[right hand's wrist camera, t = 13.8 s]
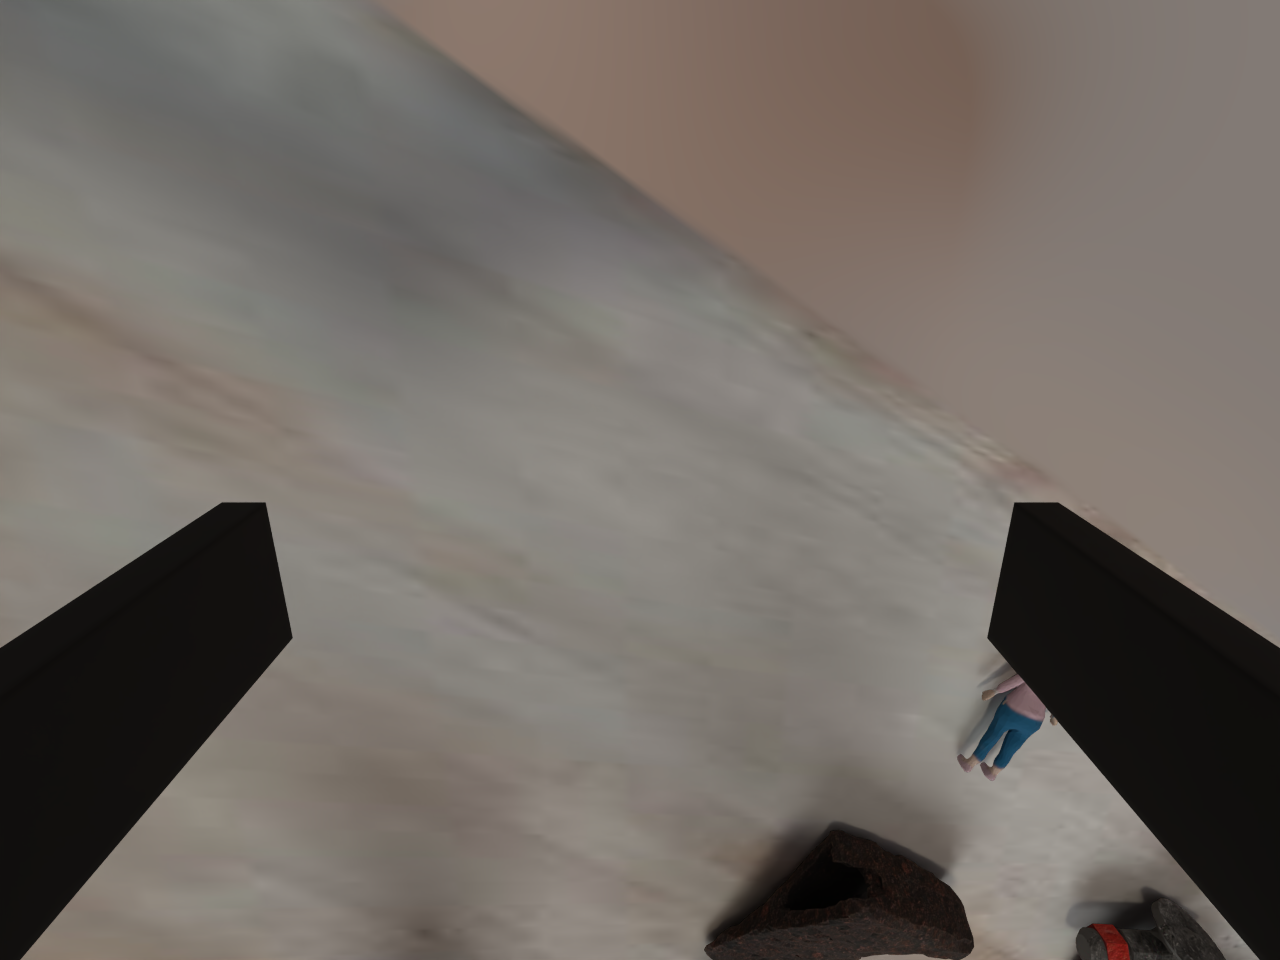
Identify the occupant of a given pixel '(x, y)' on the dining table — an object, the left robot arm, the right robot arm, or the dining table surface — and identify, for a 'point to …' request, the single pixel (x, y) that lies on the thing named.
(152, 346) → the dining table surface
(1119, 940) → the valve
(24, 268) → the dining table surface
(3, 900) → the right robot arm
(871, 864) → the axe head
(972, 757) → the figurine
